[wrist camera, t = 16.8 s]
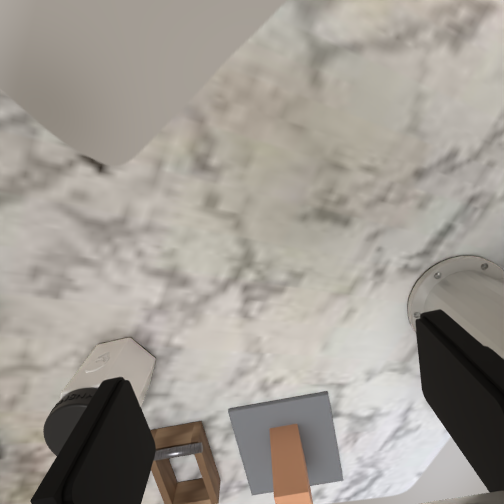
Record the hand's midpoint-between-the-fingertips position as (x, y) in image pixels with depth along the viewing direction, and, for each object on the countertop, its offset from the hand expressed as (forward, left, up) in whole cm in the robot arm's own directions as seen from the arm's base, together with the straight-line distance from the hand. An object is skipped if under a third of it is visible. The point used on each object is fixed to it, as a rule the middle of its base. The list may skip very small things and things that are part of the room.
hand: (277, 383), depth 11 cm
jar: (+22, +17, -31) cm, 41 cm away
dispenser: (+18, +34, -31) cm, 49 cm away
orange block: (+3, +35, -30) cm, 46 cm away
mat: (+3, +35, -31) cm, 46 cm away
